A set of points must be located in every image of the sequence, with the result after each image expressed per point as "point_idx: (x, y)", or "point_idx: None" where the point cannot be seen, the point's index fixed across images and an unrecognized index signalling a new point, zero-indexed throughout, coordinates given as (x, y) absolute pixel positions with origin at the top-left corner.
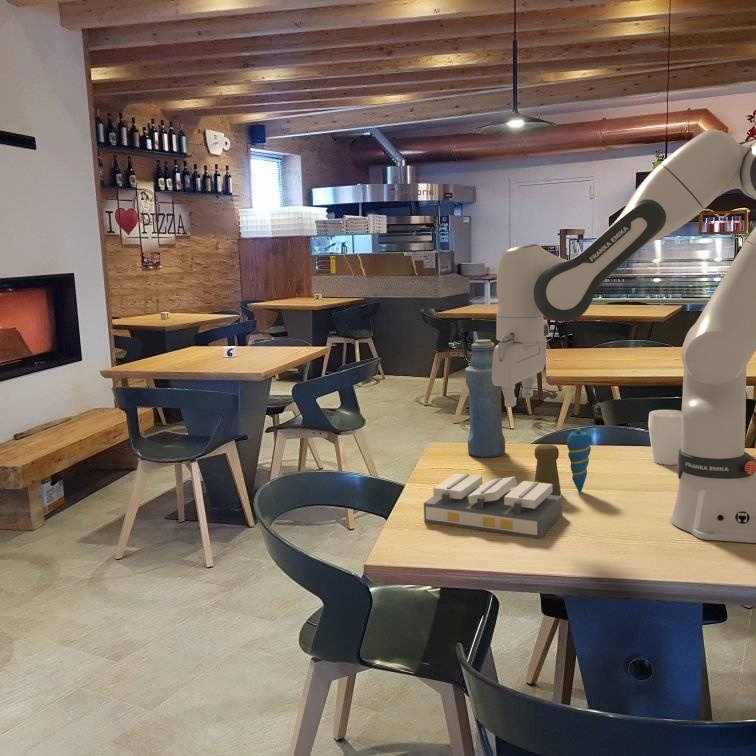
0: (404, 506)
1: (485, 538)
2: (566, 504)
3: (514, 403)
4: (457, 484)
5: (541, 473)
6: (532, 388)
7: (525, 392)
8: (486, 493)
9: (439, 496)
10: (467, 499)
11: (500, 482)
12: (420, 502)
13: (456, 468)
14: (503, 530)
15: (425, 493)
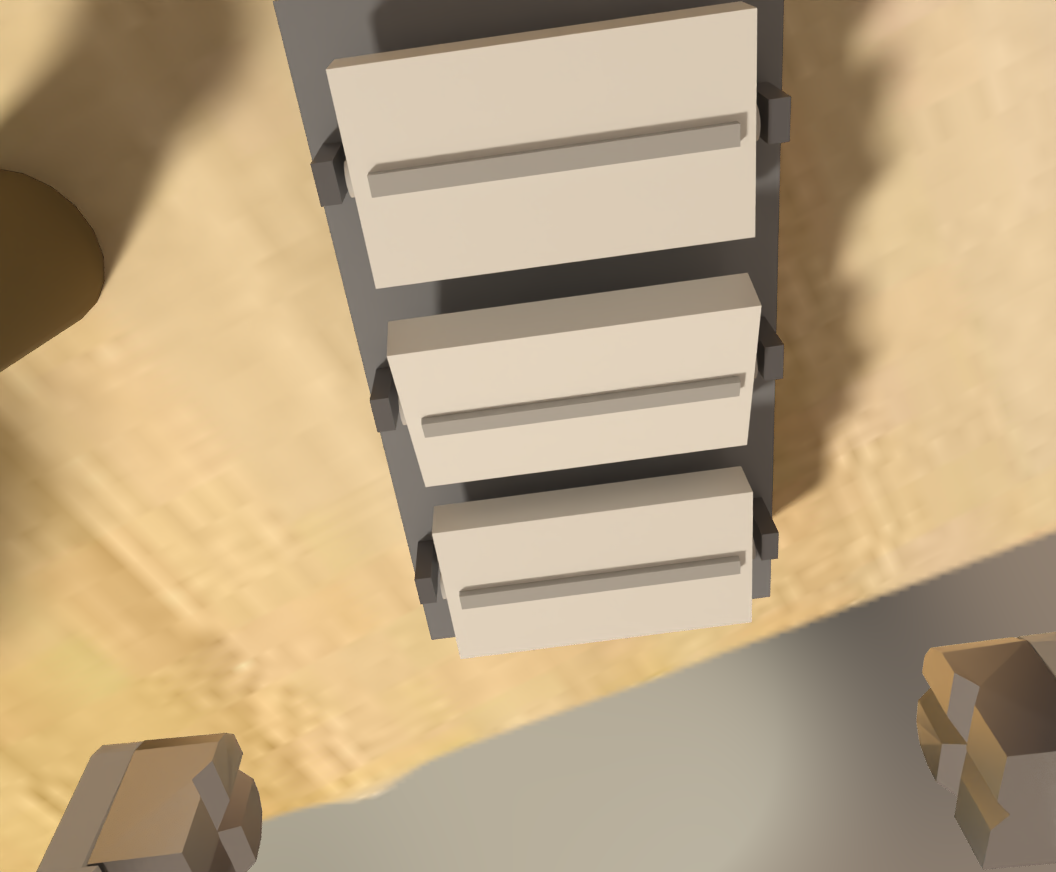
0: (603, 683)
1: (845, 205)
2: (94, 59)
3: (1037, 663)
4: (641, 562)
5: (19, 317)
6: (67, 863)
7: (228, 853)
8: (756, 352)
9: None
10: (634, 465)
11: (513, 385)
12: (525, 664)
13: (17, 776)
14: None
15: (409, 704)
